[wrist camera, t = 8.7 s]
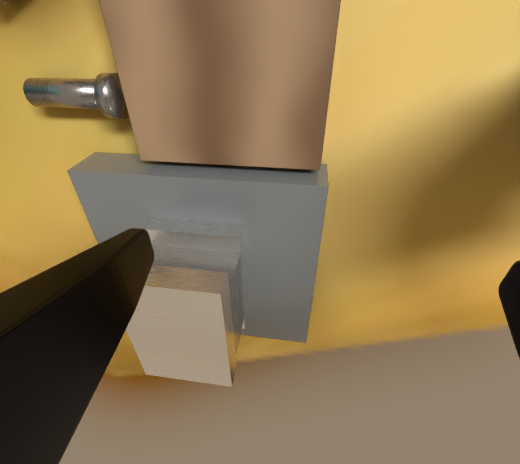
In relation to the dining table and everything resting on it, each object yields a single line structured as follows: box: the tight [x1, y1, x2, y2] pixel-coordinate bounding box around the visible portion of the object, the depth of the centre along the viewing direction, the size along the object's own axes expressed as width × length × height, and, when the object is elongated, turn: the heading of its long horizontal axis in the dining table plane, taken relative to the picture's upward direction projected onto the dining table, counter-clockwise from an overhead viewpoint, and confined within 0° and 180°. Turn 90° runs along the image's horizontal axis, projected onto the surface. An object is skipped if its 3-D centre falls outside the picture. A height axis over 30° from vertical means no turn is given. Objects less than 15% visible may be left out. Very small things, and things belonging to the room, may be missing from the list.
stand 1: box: [99, 0, 341, 170], centre depth 15 cm, size 11×11×2 cm
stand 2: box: [67, 152, 328, 343], centre depth 23 cm, size 16×15×3 cm
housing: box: [126, 216, 248, 387], centre depth 20 cm, size 6×9×6 cm, turn 0°
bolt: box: [23, 73, 129, 119], centre depth 18 cm, size 6×2×2 cm, turn 90°
